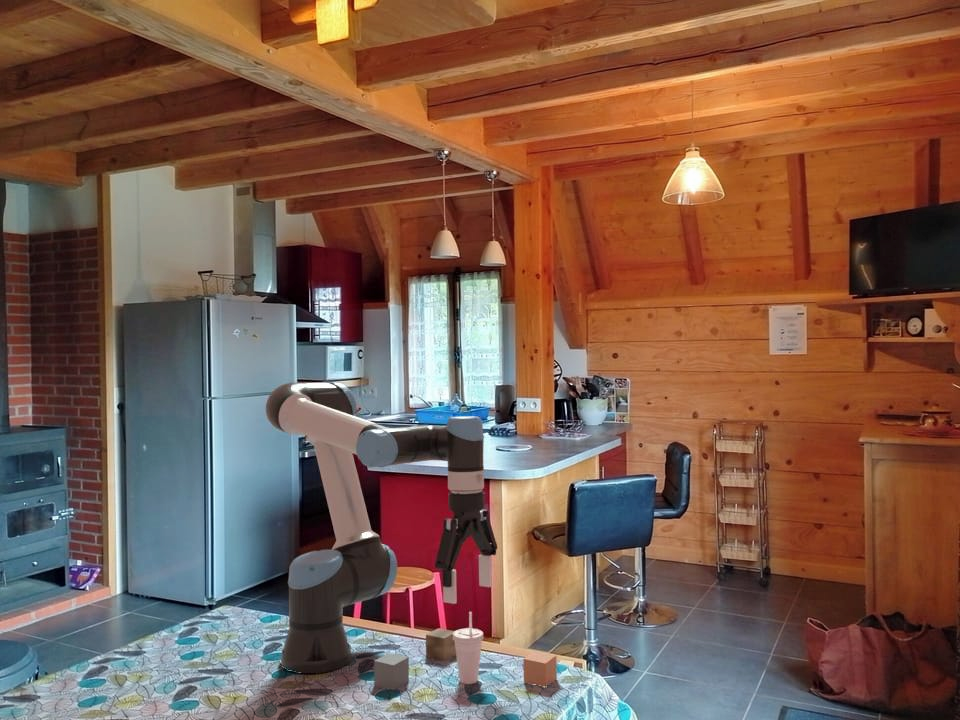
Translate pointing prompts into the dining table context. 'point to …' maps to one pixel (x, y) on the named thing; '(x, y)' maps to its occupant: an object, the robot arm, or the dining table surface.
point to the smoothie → (468, 652)
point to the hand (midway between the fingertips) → (468, 594)
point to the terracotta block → (540, 668)
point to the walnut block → (440, 644)
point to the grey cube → (391, 671)
